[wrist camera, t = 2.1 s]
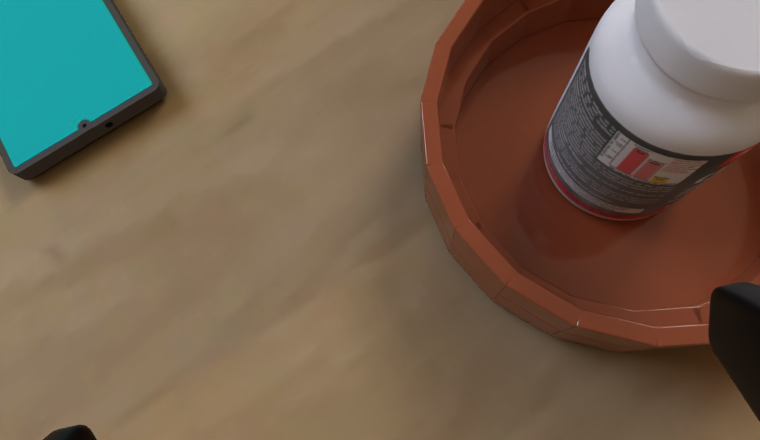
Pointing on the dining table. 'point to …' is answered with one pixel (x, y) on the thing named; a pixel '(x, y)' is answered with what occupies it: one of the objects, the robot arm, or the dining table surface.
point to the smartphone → (66, 79)
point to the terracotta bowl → (550, 208)
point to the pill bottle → (656, 105)
